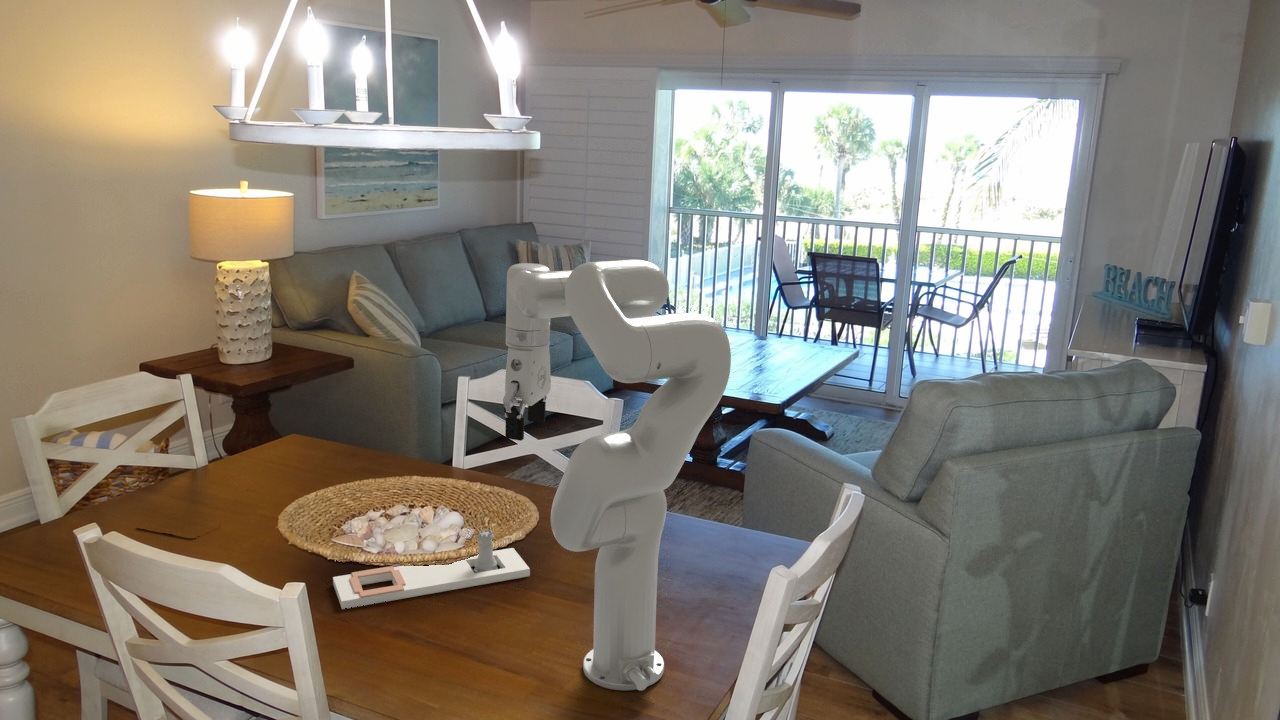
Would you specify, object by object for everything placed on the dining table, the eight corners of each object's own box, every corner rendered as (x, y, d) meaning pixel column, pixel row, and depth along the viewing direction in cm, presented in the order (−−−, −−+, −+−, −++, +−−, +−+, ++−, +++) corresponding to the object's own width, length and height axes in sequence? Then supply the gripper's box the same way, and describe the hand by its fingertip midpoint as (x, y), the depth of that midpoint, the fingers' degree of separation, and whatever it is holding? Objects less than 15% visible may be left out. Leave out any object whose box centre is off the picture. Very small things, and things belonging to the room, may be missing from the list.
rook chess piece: (493, 578, 181) (492, 537, 179) (470, 575, 182) (469, 535, 180) (501, 567, 185) (500, 528, 183) (478, 565, 186) (478, 526, 184)
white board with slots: (529, 576, 182) (529, 567, 182) (341, 609, 168) (341, 599, 167) (513, 554, 191) (513, 546, 190) (333, 584, 176) (332, 575, 176)
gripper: (528, 350, 158) (526, 449, 163) (566, 328, 174) (563, 418, 179) (486, 345, 160) (485, 442, 165) (527, 323, 176) (525, 412, 181)
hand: (525, 430), depth 172 cm, fingers open, 9 cm apart
